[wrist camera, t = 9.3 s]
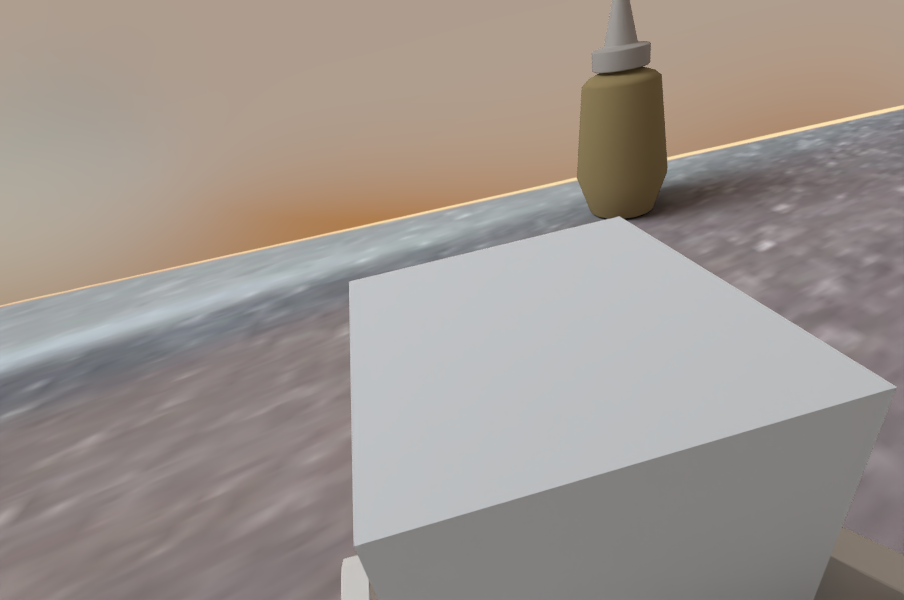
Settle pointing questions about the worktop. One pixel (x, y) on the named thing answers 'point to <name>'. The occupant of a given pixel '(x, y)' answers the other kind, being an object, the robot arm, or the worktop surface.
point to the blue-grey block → (596, 428)
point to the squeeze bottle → (622, 124)
